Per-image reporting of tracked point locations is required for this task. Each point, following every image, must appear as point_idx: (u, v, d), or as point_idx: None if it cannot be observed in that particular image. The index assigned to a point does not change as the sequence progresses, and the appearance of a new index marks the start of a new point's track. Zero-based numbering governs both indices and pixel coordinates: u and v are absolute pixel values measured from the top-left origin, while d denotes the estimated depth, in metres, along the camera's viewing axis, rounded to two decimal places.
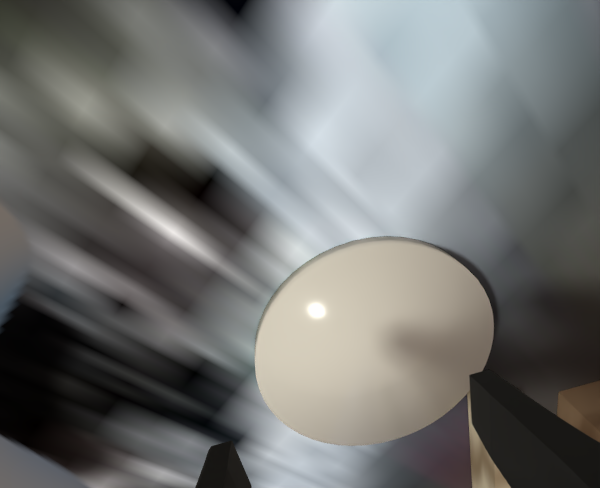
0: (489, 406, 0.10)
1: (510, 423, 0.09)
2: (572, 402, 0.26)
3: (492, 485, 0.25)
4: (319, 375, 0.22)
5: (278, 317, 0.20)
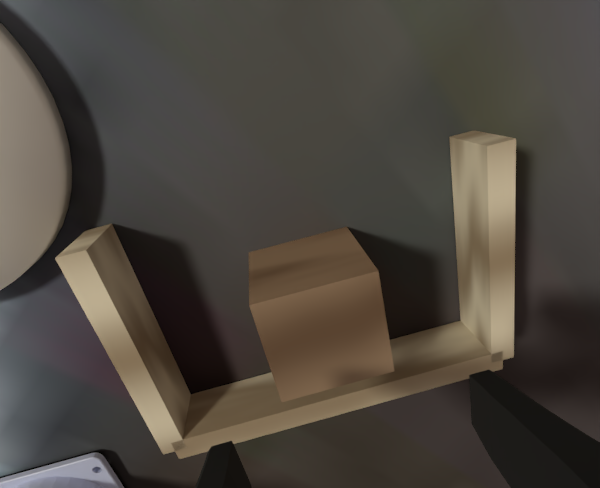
0: (489, 406, 0.10)
1: (510, 423, 0.09)
2: (252, 260, 0.18)
3: (125, 378, 0.17)
4: None
5: None
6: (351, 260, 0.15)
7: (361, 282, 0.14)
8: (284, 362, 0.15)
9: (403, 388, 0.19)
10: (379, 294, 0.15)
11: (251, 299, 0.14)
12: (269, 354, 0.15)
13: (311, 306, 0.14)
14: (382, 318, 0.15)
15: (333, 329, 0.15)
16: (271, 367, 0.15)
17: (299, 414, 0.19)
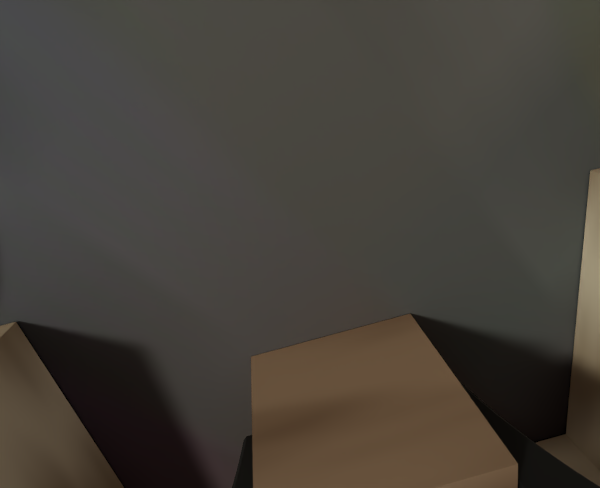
0: None
1: None
2: (257, 381, 0.10)
3: None
4: None
5: None
6: (446, 414, 0.08)
7: (481, 484, 0.07)
8: None
9: None
10: None
11: None
12: None
13: None
14: None
15: None
16: None
17: None
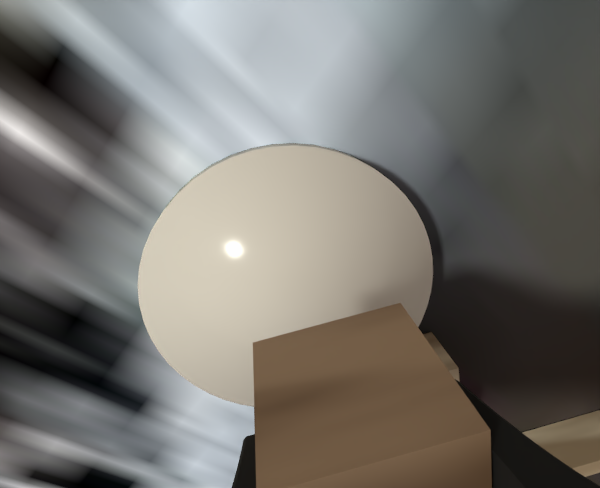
0: None
1: None
2: (258, 364, 0.11)
3: None
4: (222, 319, 0.18)
5: (160, 242, 0.16)
6: (429, 389, 0.09)
7: (458, 449, 0.08)
8: None
9: None
10: (486, 463, 0.08)
11: (259, 476, 0.08)
12: None
13: None
14: None
15: None
16: None
17: None
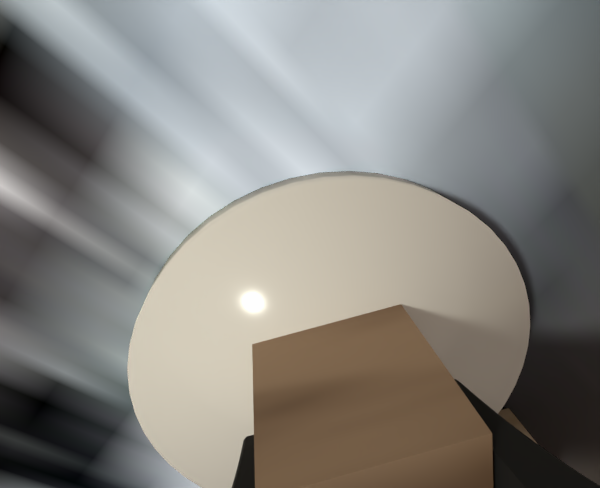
0: None
1: None
2: (258, 366, 0.11)
3: None
4: (243, 407, 0.13)
5: (159, 311, 0.11)
6: (430, 392, 0.09)
7: (459, 452, 0.08)
8: None
9: None
10: (488, 467, 0.08)
11: (257, 480, 0.08)
12: None
13: None
14: None
15: None
16: None
17: None
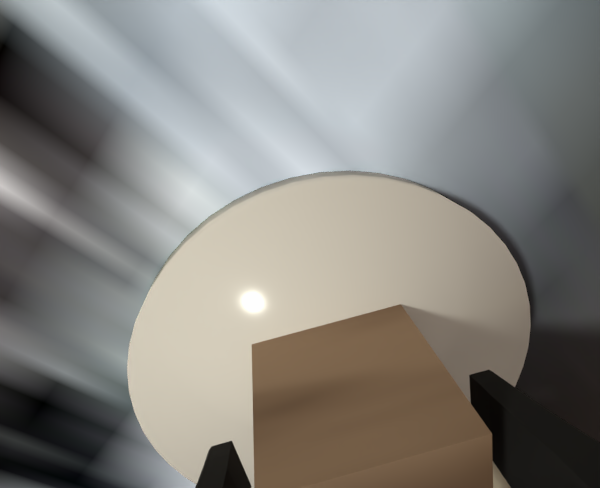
0: (489, 406, 0.10)
1: (510, 423, 0.09)
2: (257, 366, 0.11)
3: None
4: (243, 407, 0.13)
5: (159, 311, 0.11)
6: (430, 392, 0.09)
7: (458, 453, 0.08)
8: None
9: None
10: (487, 467, 0.08)
11: (257, 480, 0.08)
12: None
13: None
14: None
15: None
16: None
17: None
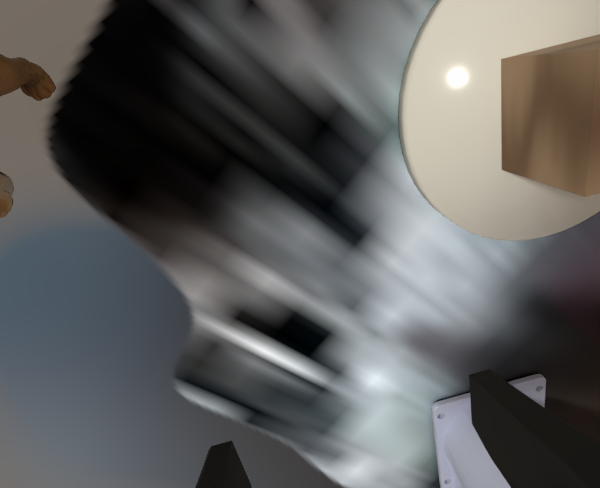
0: (489, 406, 0.10)
1: (510, 423, 0.09)
2: (521, 56, 0.15)
3: None
4: (481, 122, 0.17)
5: (448, 19, 0.16)
6: None
7: None
8: None
9: None
10: None
11: (589, 49, 0.12)
12: (595, 125, 0.13)
13: None
14: None
15: None
16: (591, 145, 0.13)
17: None
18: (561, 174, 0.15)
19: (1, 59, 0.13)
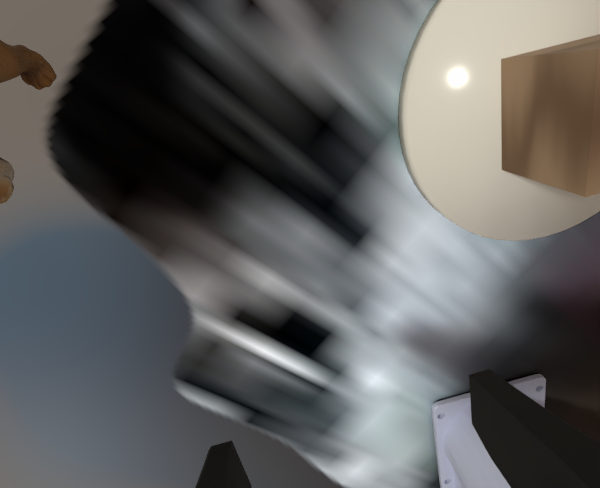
0: (489, 406, 0.10)
1: (510, 423, 0.09)
2: (521, 56, 0.15)
3: None
4: (481, 122, 0.17)
5: (448, 19, 0.16)
6: None
7: None
8: None
9: None
10: None
11: (589, 49, 0.12)
12: (595, 125, 0.13)
13: None
14: None
15: None
16: (591, 144, 0.13)
17: None
18: (561, 174, 0.15)
19: (1, 45, 0.13)
